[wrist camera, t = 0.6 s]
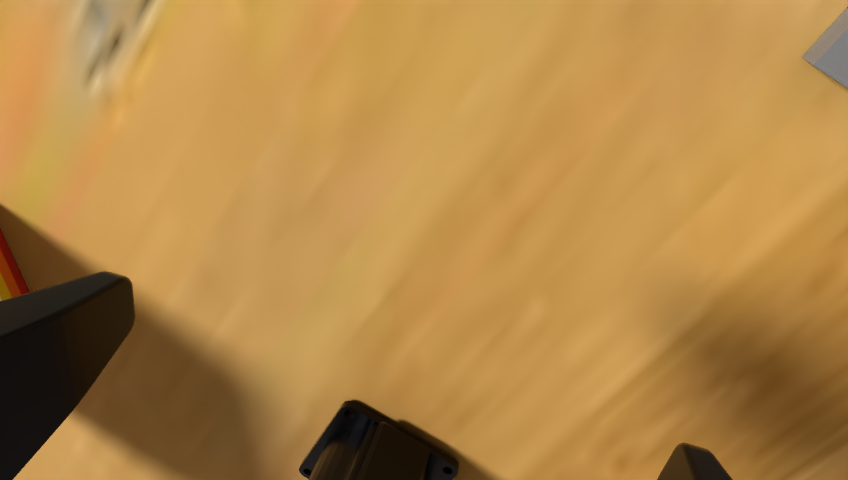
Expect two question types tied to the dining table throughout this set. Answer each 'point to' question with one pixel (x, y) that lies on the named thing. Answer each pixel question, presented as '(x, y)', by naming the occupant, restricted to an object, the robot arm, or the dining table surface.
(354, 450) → the robot arm
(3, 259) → the baking soda box
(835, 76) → the coaster
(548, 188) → the dining table surface
